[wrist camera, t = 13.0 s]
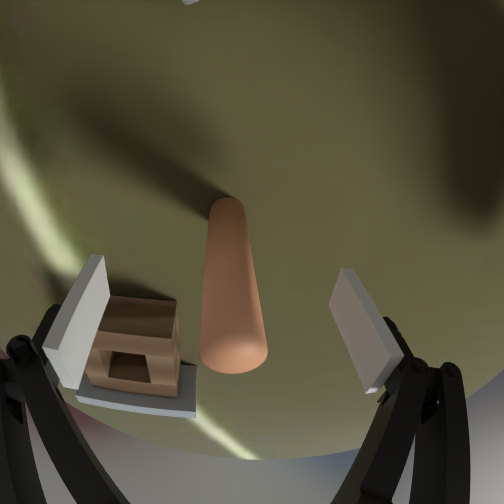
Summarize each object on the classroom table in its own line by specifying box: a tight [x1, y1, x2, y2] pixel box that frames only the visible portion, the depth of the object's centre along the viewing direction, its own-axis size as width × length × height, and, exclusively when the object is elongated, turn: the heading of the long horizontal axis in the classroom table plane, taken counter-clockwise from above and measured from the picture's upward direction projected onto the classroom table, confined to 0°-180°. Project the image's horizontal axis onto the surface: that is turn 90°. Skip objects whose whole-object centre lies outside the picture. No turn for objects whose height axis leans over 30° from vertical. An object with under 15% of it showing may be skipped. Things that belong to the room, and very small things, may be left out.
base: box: [75, 365, 197, 418], centre depth 30 cm, size 2×14×6 cm, turn 83°
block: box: [84, 295, 180, 398], centre depth 27 cm, size 10×10×5 cm
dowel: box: [200, 197, 268, 374], centre depth 18 cm, size 3×3×14 cm
